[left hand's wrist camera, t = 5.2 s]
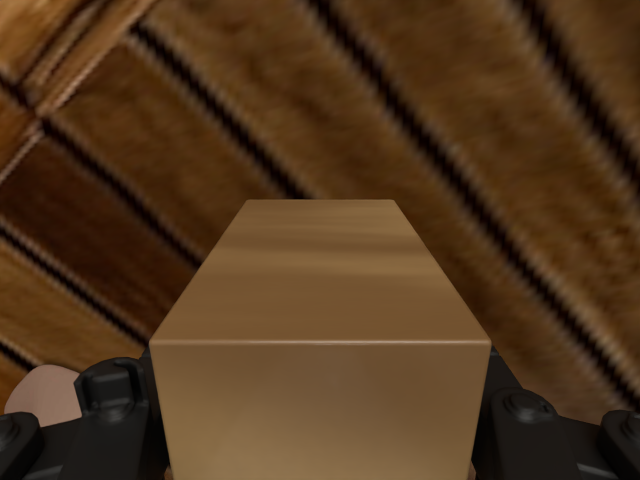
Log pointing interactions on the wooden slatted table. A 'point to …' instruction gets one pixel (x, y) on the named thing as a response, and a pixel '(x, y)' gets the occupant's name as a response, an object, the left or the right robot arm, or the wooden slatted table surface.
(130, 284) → the wooden slatted table surface
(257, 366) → the bar
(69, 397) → the anatomical model
